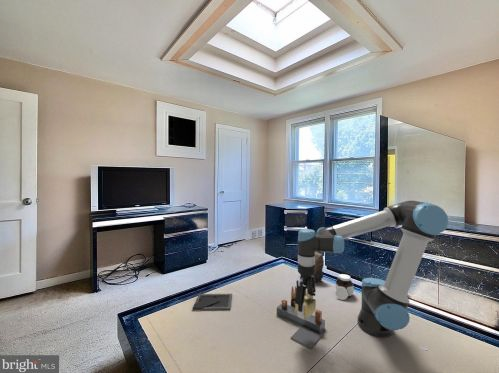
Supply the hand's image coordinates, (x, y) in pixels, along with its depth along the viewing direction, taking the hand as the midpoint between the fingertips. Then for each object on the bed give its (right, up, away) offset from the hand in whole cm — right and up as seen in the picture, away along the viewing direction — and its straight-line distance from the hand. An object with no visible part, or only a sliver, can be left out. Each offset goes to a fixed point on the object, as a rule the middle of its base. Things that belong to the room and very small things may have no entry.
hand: (305, 313), depth 103 cm
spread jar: (+33, -10, +37) cm, 50 cm away
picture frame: (-47, -11, +30) cm, 57 cm away
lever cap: (0, +1, 0) cm, 1 cm away
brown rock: (+19, -10, +58) cm, 62 cm away
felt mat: (0, -11, 0) cm, 11 cm away
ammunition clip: (+3, -11, +25) cm, 28 cm away
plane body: (0, -11, +12) cm, 17 cm away
